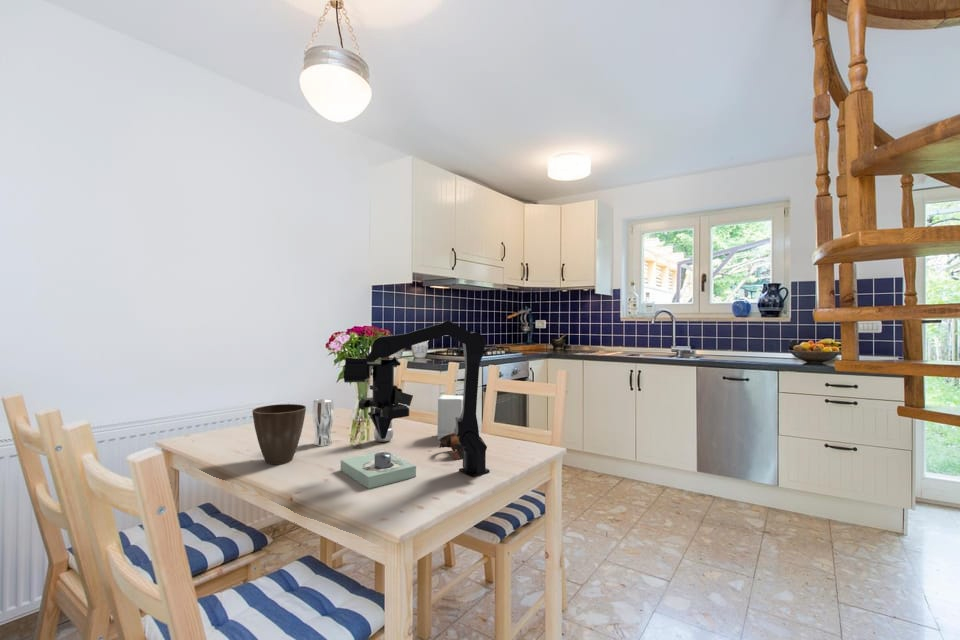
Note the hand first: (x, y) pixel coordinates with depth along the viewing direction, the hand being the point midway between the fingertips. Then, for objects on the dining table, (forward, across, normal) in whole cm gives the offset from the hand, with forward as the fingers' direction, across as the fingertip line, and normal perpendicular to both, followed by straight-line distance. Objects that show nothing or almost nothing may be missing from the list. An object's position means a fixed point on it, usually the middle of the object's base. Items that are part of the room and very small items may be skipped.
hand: (382, 438), depth 121 cm
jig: (+10, +3, 0) cm, 11 cm away
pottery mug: (+11, +3, -28) cm, 30 cm away
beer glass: (+10, +42, +1) cm, 43 cm away
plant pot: (+10, +32, +18) cm, 38 cm away
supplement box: (+11, +21, -39) cm, 46 cm away
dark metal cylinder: (+10, 0, 0) cm, 10 cm away
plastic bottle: (+11, +32, -17) cm, 38 cm away
